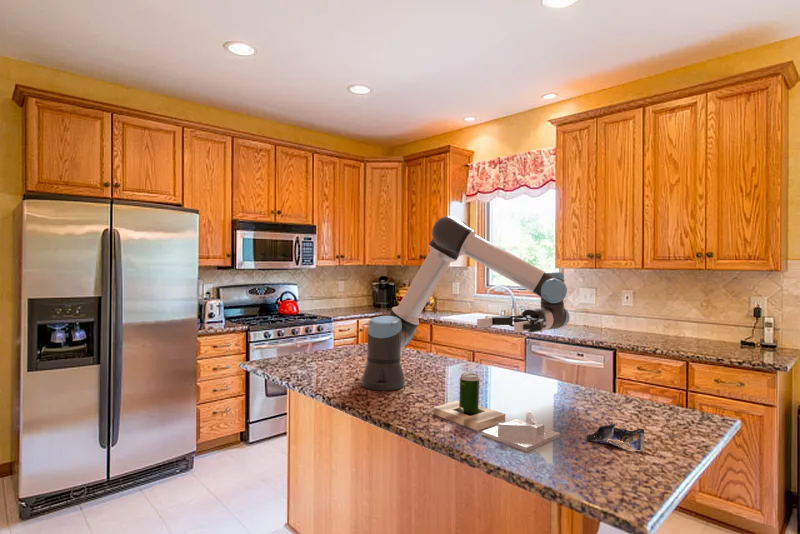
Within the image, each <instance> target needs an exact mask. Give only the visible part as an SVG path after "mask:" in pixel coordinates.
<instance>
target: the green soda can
mask: <svg viewBox="0 0 800 534" xmlns="http://www.w3.org/2000/svg"><path fill="white" fill-rule="evenodd" d="M479 397H480V375H479V374H477V373H473V372H464V373H461V375H460V378H459V412H460V413H463V414H466V415H469V416H472V415H475V414H478V408H479V406H480V404H479V403H480V401H479V400H480V398H479Z"/></svg>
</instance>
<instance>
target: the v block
mask: <svg viewBox="0 0 800 534" xmlns="http://www.w3.org/2000/svg"><path fill="white" fill-rule="evenodd" d="M545 426H546V425H545V424H542V423H540V422H538V421H537V419H536V418H535V416H534V415H533V414H532V412H526V415H525V421H523V420H520V419H517V418H515V419H513V420H512V419H511V420H510V421H509V420H508V421H505V422H501V423H498V424H497V425H494V426H493V427H492V426H491V427H488V428H487V429H486V428H485V429H484V430H481V436H484V437H485V438H489V439H491V440H494V441H496V442H499V443H501V442H502V443H501V444H504V443H505V444H504V445H506V446H510V447H512V448H515V449H518V450H520V451H523V452H525V453H528V452H530V451H533V450H534V449H537V448H539V447H541V446H543V444H544V445H545V444H548V443H550V442H552V441H555V440H557V439H559V438H561V433H560V432H558V431H555V430H551V429H548V428H545Z"/></svg>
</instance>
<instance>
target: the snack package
mask: <svg viewBox="0 0 800 534" xmlns="http://www.w3.org/2000/svg"><path fill="white" fill-rule="evenodd" d="M623 427H624V428H623ZM623 427H622V428H621V427H619V428H618V427H616V424H615V423H609V424H604V425H602V426H599V428H597V429H598V430H596V431H594V433H593V434H587V435H586V441H587V440H589V441H588V442H594V443H598V442H600V443H599V444H607V445H613V447H614V446H615V447H617V446H618V447H617V448H619V449H620V448H621V449H623V450H624V448H622V447H621V446H620V445H618V443H613V442H611V441H609V442H607V440H608V439H611V440H617V441H618V440H620V441H623V442H624V443H626V444H627V445H629V446H631V447H632V448H634V449H635V450H641V451H639V452H638V453H641V452H642V451H643V449H644V448H643V447H644V445H645V438H644V437H645V430H644V428H638V429H635V430H629V429H628V430H627V429H625V428H626V426H625V425H623ZM594 436H595V437H594Z"/></svg>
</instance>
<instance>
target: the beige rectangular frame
mask: <svg viewBox="0 0 800 534" xmlns="http://www.w3.org/2000/svg"><path fill="white" fill-rule="evenodd" d="M432 415H433V416H436V417H440V418H442V419H445V420H447V421H450V422H453V423H456V424H458V425H460V426H464V427H466V428H469V429H472V430H474V431H477V432H478V431H482V430H483V429H484V430H485V429H486V428H487V429H488V428H491V427H492V426H493V427H494V426H497V425H498V423H505V422H506V413H503V412H501V411H497V410H494V409H491V408H488V407H486V406H481V405H479V408H478V414H475V415H472V416H469V415H466V414H463V413H460V412H459V400H455V401H452V402H451V401H450V402H448V403H444V404H440V405H436V406H433V409H432Z"/></svg>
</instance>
